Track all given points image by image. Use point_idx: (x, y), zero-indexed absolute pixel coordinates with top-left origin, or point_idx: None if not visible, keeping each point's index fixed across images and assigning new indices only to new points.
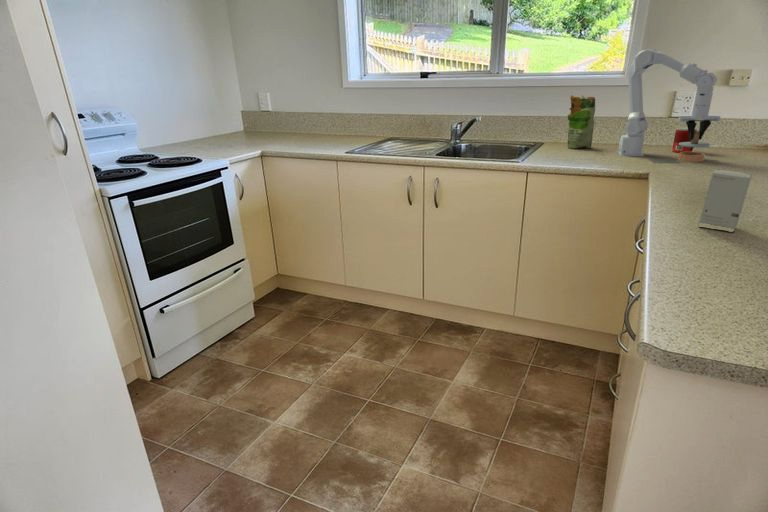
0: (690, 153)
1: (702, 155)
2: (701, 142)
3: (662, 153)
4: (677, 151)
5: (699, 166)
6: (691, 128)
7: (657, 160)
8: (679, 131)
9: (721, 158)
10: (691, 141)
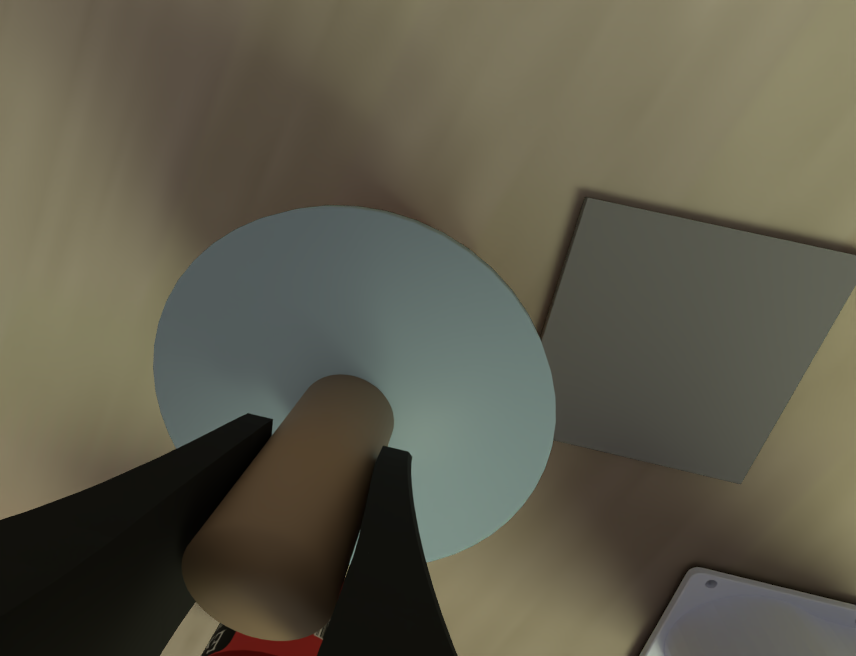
0: None
1: None
2: None
3: (458, 623)
4: None
5: (460, 25)
6: (436, 651)
7: (734, 362)
8: None
9: (104, 369)
10: (386, 443)
